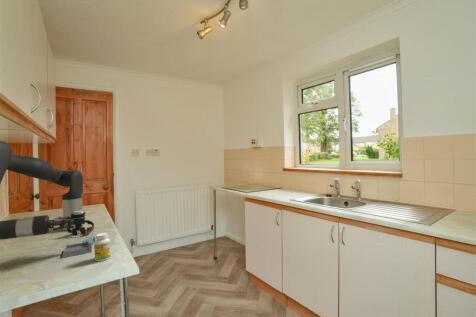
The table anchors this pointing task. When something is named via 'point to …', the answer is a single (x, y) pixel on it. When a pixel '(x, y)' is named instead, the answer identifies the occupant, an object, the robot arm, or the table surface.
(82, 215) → the push button
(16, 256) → the table surface
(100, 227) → the table surface
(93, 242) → the clip
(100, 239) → the supplement bottle
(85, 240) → the clip
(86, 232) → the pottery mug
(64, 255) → the tray
